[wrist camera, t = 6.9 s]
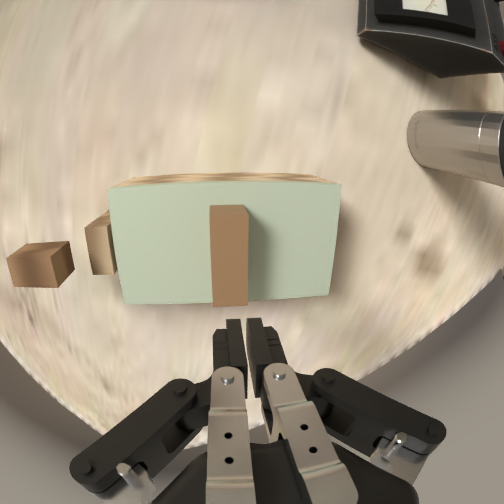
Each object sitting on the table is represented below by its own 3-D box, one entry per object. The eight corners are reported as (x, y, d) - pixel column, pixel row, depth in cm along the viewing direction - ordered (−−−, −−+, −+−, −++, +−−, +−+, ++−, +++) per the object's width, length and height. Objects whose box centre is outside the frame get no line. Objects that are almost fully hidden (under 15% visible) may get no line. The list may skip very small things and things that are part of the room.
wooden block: (69, 241, 23) (50, 256, 19) (74, 269, 24) (58, 287, 20) (26, 243, 22) (6, 258, 18) (32, 269, 23) (14, 286, 20)
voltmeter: (353, -33, 22) (423, -89, 4) (432, 9, 25) (511, -15, 7) (349, 37, 28) (446, -14, 9) (434, 79, 31) (532, 72, 13)
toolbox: (309, 174, 34) (341, 185, 26) (303, 261, 39) (328, 295, 30) (111, 179, 31) (80, 192, 22) (122, 267, 35) (99, 303, 27)
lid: (335, 182, 27) (361, 192, 22) (323, 288, 31) (342, 314, 26) (112, 186, 24) (90, 197, 19) (128, 297, 28) (114, 326, 23)
